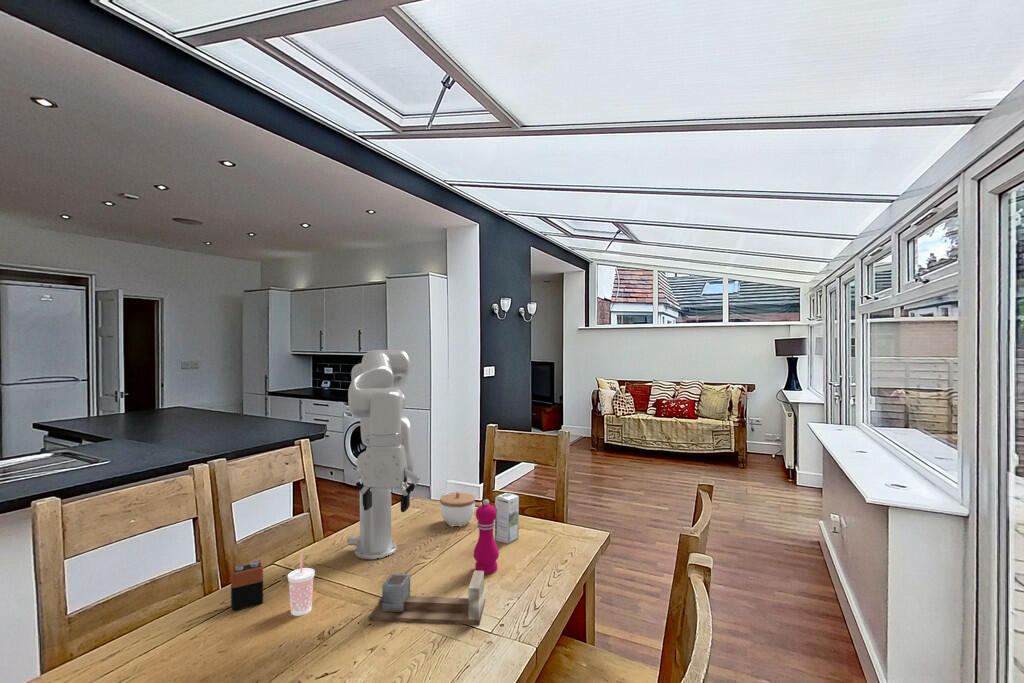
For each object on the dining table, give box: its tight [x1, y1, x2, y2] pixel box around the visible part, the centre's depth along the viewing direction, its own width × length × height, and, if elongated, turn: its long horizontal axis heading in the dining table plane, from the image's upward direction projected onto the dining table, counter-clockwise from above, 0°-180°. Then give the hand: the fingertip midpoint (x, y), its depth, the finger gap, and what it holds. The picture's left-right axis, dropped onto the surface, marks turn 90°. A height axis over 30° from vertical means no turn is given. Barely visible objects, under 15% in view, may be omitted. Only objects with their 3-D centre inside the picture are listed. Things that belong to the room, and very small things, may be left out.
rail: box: [368, 570, 486, 625], centre depth 120 cm, size 26×10×8 cm, turn 86°
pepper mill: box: [473, 499, 500, 575], centre depth 142 cm, size 7×7×20 cm
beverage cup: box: [287, 552, 316, 617], centre depth 121 cm, size 6×6×14 cm
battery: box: [230, 560, 264, 611], centre depth 124 cm, size 4×7×10 cm, turn 123°
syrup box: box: [494, 492, 520, 544], centre depth 164 cm, size 6×6×14 cm
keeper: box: [381, 573, 411, 612], centre depth 121 cm, size 5×6×6 cm
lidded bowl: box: [439, 491, 476, 526], centre depth 179 cm, size 13×13×11 cm
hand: (386, 509), depth 123 cm, fingers open, 9 cm apart
